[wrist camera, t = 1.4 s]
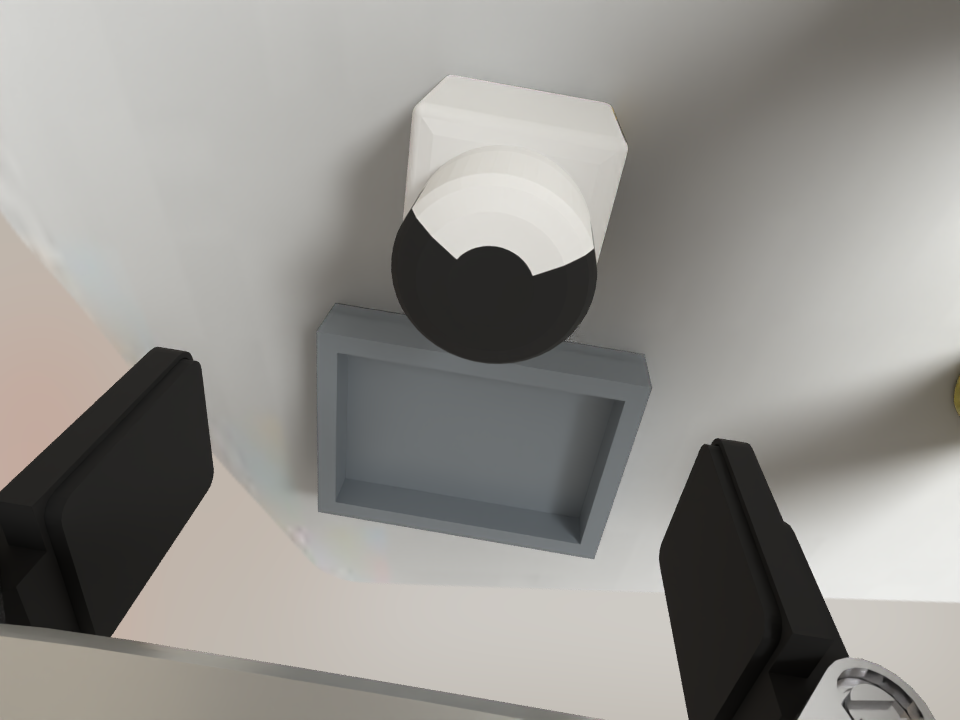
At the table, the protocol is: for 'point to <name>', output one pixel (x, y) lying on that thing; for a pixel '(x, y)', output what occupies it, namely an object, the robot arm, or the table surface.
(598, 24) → the table surface
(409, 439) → the tray
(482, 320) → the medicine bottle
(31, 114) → the table surface
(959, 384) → the vase
